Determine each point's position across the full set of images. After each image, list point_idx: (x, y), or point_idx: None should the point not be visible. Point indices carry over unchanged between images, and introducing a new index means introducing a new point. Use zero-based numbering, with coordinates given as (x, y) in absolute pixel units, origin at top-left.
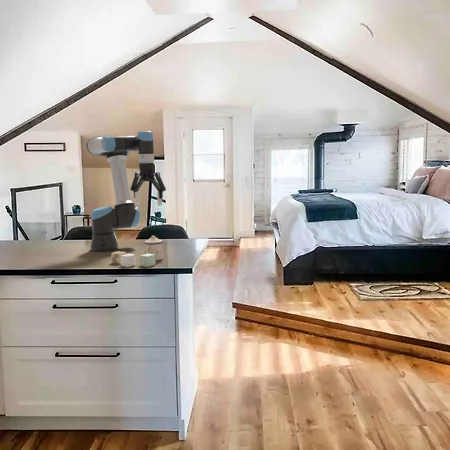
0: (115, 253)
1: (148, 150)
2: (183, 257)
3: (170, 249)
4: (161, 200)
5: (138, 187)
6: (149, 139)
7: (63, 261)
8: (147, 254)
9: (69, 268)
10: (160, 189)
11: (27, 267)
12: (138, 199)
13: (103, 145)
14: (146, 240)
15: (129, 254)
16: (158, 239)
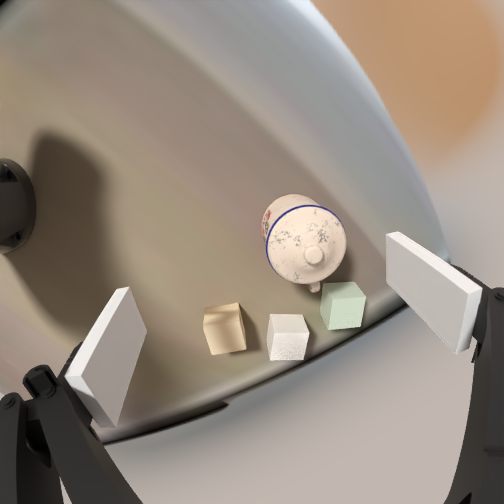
0: (228, 351)
1: None
2: (366, 152)
3: (207, 56)
4: (422, 252)
5: (106, 459)
6: None
7: None
8: (342, 309)
9: (175, 408)
10: (501, 322)
11: (96, 426)
12: (122, 333)
13: None
14: (278, 263)
15: (285, 339)
16: (332, 238)
